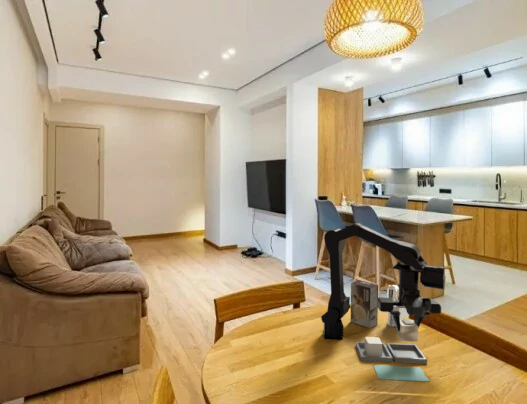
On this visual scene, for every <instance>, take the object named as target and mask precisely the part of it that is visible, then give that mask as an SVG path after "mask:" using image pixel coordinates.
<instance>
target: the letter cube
mask: <svg viewBox="0 0 527 404" xmlns="http://www.w3.org/2000/svg"><path fill="white" fill-rule="evenodd" d="M396 335H397V337H398V338H399V340H400V341H401V342H415V343H416V342H418V340H419V328H418V326H417V324H416V323H415V322H414V319H404V318H403V319H400V331H398V330H397V329H396Z"/></svg>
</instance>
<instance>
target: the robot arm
mask: <svg viewBox="0 0 527 404" xmlns="http://www.w3.org/2000/svg"><path fill="white" fill-rule="evenodd" d="M351 237H358V238H360V239H362V240H364V241H366V242H368V243H370V244H372V245H374V246H376V247H378V248H380V249H382V250H385V251H387V252H388V253H390V255H391V256H393V258H394V259H396V260H398V262H396V264H394V265H393V266H392V269H394V270H399V275H398V276H399V277H398V284H397V286H398V287H399V296H398V300H399V302H396V301H391V300H390V299H389V298H387V297H378V299H377V300H376V305H377V307H378V311H380V312H383V313H388V312H390V314H392V315H393V318H394V321H395V324H396V327H397V328H396V331H397V330H398V331H400V314H401V313H400V312H399V311H398V308H404V309H405V310H406V313H407V315H410V316H413V317H414V318H413V321H414V322H415V323H416V324H417V326H418V329H419V328H420V325H421V324H422V322H423V320H424V319H425V318H426V317H427V316H430V315H431V314H437V315H438V314H442V305H441V304H440V303H439V302H437V301H436V300H435V299H434V298H429V297H428V298H427V297H421V291H420V288H419V283H420V284H421V285H422V286H423V287H425V288H430V289H438V290H445V289H446V288H445V287H446V273H445V272H446V271H445V270H446V269H445V266H433V265H428V264H427V262H426V260H425V259H424V258H423V257H422V253H421V250H420V248H419V247H418V246H417V245H416V244H412V243H410V242H407V241H406V242H405V241H401V240H397V239H394V238H391V237H389V236H387V235H385V234H383V233H380V232H379V231H376V230H374V229H372V228H371V227H370V228H369V227H367V226H365V225H363V224H362V223H360V222H356V223H354V224H351V225H350V226H347V227H344V228H339V227H337V228H332V229H330V230H328V231H326V233H325V234H324V237H323V239H324V243H325V248H326V250H327V253H328V256H329V273H330V275H329V276H330V296H329V300H328V302H327V311H326V312H324V314H322V315H321V316H320V320H321V322H322V324H323V330H322V334H323V335H322V336H323V339H324V340H332V341H335V340H336V341H337V340H338V341H343V337H344V324H343V323H344V322H343V321H342V319H343V318H344V317H345V315H346V314H347V313H348V312H349V309H351V296H346V294H345V290H344V265H343V254H344V253H343V252H344V249H345V246H346V240H347V239H349V238H351ZM419 274H420V275H419ZM419 276H420V277H419Z"/></svg>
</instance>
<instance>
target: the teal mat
mask: <svg viewBox="0 0 527 404" xmlns="http://www.w3.org/2000/svg"><path fill="white" fill-rule="evenodd" d="M372 367H373V369H374V371H375V373H376V376H377V378H378V380H385V381H402V382H403V381H404V382H424V383H425V382H426V383H430V380H429V378H428V377H427V375H426V374H425V373H424V371H423V369H422V368H421V367H420V366H419V367H418V366H398V365H377V364H376V365H374V364H373V366H372Z"/></svg>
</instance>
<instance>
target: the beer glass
mask: <svg viewBox="0 0 527 404" xmlns="http://www.w3.org/2000/svg"><path fill="white" fill-rule="evenodd" d="M398 296H399V287H398V285H394V284H392V285H388V286H387V290H386V298H389V299H390V300H391V301H396V302H399V300H398ZM398 311H399V312H400V313H401V314H400V319H404V318H403V317H404V311H405V308H398ZM387 313H388V315H387V316H388V317H387V322H386V324H387V326H388V327H391V328H393V329H397V327H396V324H395V321H394V318H393V315H392V314H390V312H387Z"/></svg>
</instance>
